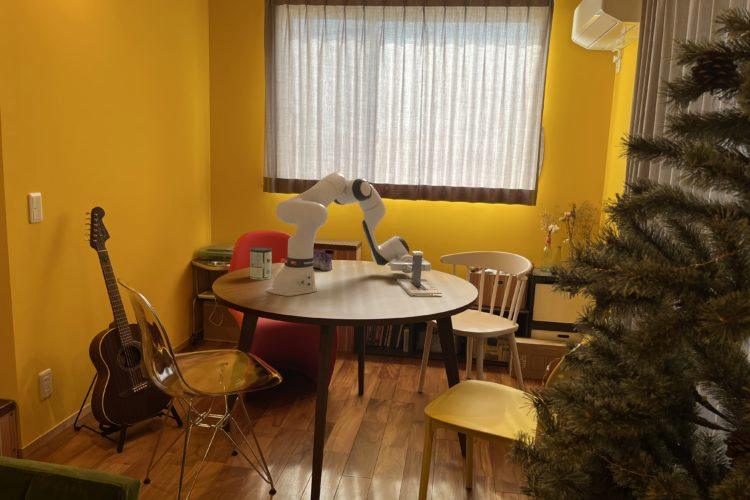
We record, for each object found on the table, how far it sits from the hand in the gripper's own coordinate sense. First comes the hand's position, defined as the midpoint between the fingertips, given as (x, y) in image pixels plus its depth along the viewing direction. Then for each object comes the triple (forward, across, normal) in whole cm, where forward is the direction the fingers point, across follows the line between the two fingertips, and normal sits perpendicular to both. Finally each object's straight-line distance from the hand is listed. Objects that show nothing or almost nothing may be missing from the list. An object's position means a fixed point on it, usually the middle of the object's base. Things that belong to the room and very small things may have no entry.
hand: (413, 269), depth 267 cm
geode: (-40, -40, +8) cm, 57 cm away
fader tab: (+4, 0, +7) cm, 9 cm away
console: (+9, 0, +7) cm, 12 cm away
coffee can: (-13, -72, +8) cm, 73 cm away
